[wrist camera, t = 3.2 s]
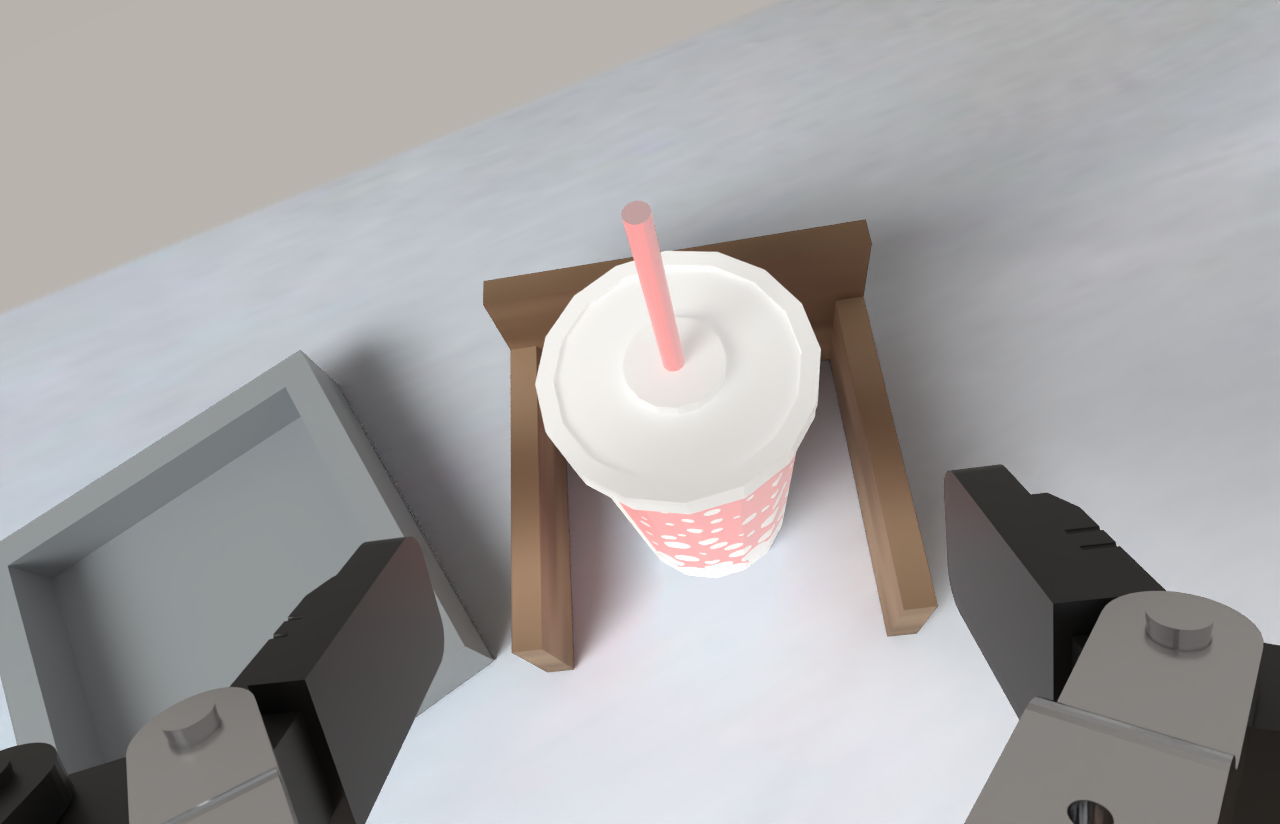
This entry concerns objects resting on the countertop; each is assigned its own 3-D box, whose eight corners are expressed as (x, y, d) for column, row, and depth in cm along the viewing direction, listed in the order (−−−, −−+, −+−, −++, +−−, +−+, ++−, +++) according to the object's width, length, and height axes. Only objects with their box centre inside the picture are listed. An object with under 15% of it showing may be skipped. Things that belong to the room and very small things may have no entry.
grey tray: (37, 579, 28) (-28, 559, 26) (337, 384, 29) (300, 349, 27) (134, 920, 22) (62, 933, 20) (493, 660, 24) (464, 645, 22)
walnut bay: (540, 380, 28) (483, 281, 23) (849, 335, 27) (865, 219, 22) (547, 672, 24) (478, 634, 18) (916, 633, 22) (957, 580, 17)
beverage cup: (850, 491, 25) (919, 170, 12) (723, 647, 23) (652, 468, 11) (698, 383, 27) (624, 24, 15) (573, 518, 26) (375, 250, 13)
